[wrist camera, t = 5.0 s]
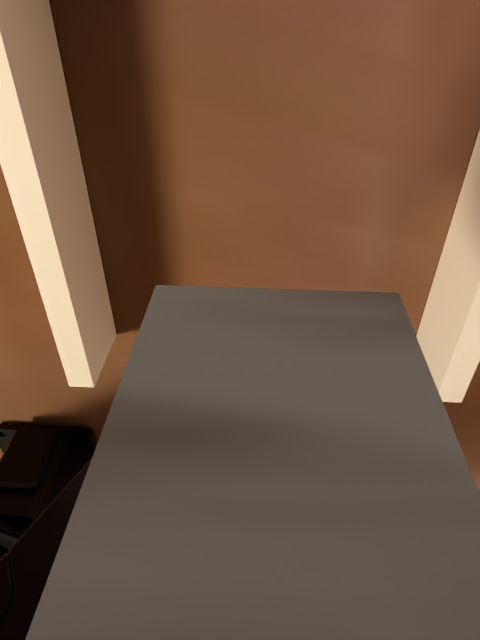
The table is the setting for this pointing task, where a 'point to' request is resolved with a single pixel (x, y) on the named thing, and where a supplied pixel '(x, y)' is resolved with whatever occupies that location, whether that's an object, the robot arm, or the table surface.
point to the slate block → (271, 481)
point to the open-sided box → (80, 236)
